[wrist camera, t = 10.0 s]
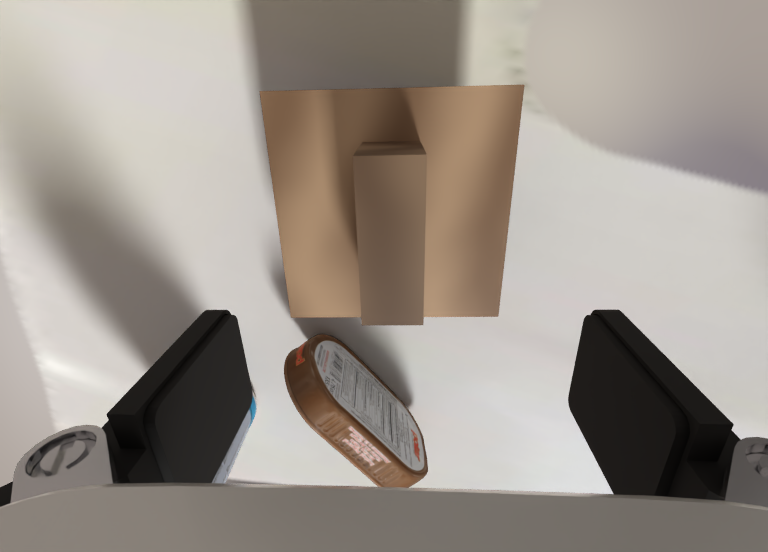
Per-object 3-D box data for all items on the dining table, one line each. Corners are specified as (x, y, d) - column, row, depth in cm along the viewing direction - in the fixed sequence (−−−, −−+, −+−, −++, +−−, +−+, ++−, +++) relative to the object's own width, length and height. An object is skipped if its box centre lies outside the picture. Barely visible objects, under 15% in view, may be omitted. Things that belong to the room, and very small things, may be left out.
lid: (518, 85, 20) (563, 82, 15) (494, 308, 26) (521, 366, 20) (265, 91, 21) (218, 90, 15) (294, 309, 26) (267, 366, 21)
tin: (295, 331, 34) (265, 400, 26) (322, 311, 33) (299, 377, 26) (403, 434, 39) (405, 519, 31) (430, 419, 38) (438, 503, 30)
